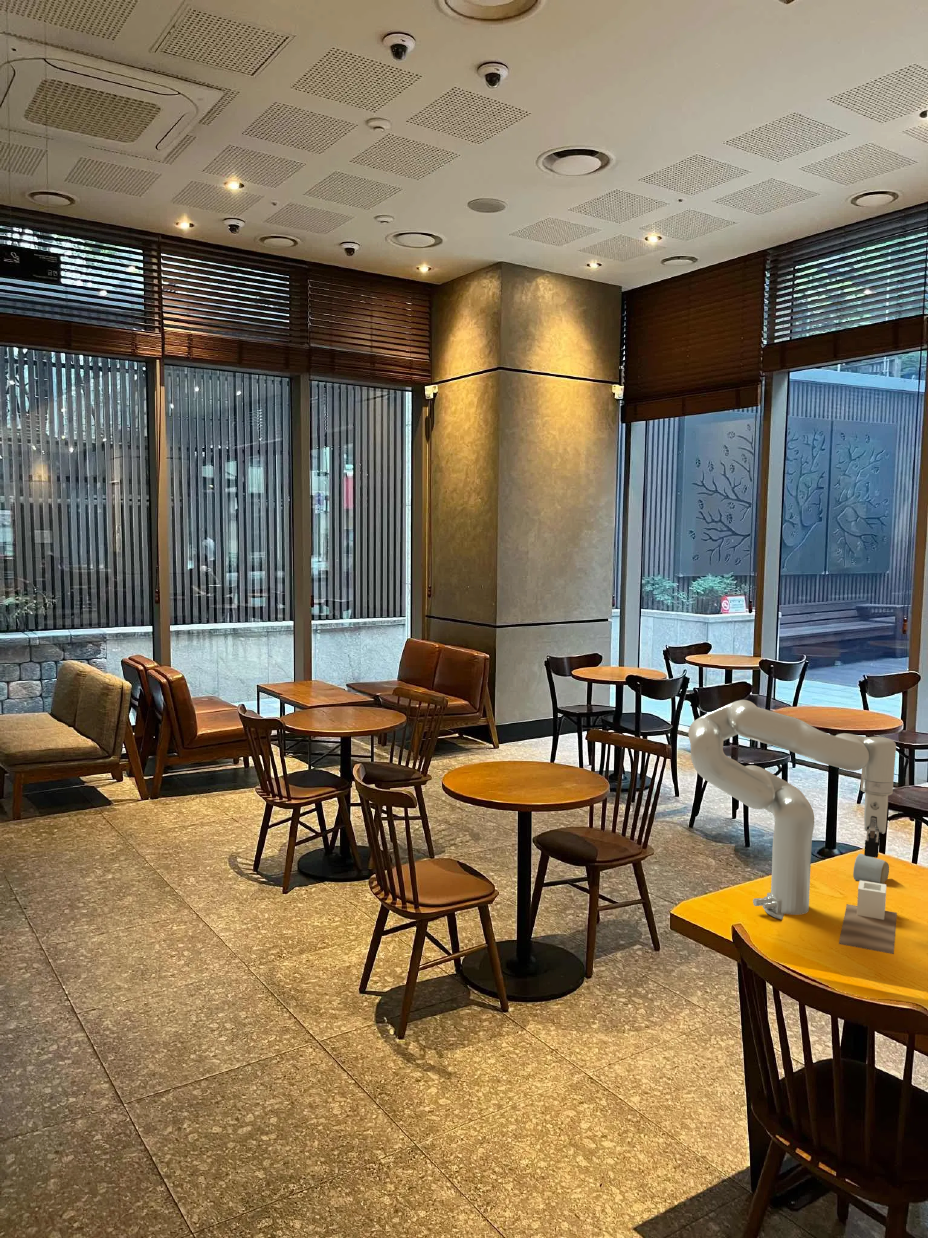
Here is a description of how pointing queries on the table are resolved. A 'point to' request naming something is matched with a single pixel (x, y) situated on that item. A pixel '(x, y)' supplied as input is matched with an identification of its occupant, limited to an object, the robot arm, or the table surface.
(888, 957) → the table surface
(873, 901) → the cream housing
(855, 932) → the walnut board
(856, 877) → the ceramic mug
